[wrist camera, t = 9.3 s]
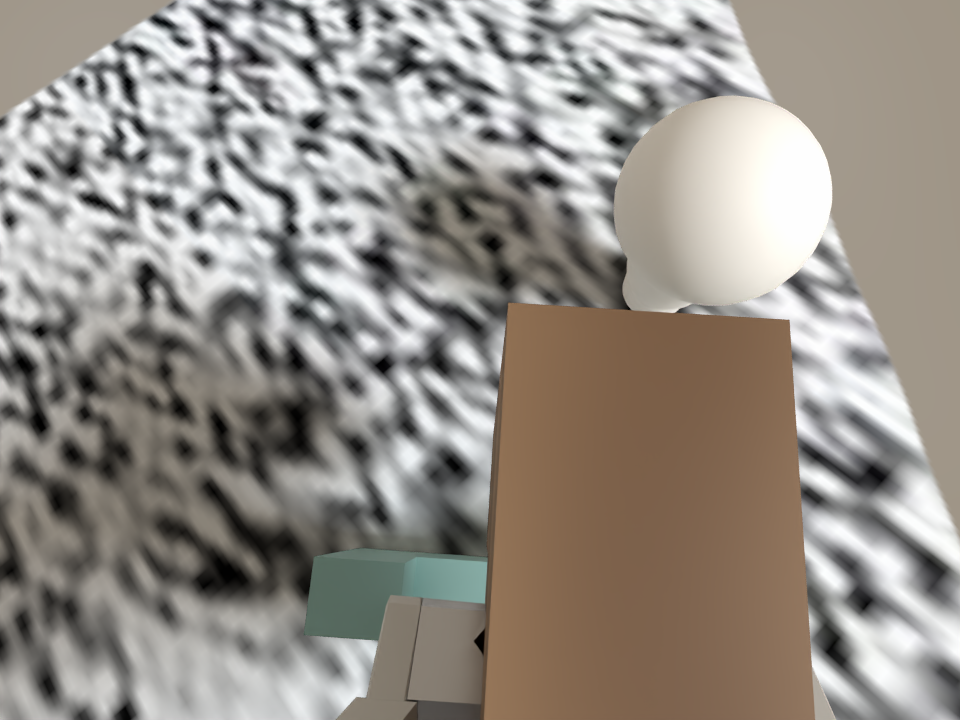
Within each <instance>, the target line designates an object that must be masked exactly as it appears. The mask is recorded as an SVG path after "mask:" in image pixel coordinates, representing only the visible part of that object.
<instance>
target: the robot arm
mask: <svg viewBox="0 0 960 720" xmlns="http://www.w3.org/2000/svg"><path fill="white" fill-rule="evenodd" d="M485 622H486V604H483V603H473V602H462V601H452V600H442V599H432V598H422V597H410V596H397V595H390V598H389V600H388V602H387V604H386V609H385V613H384V618H383V622H382V627H381V632H380V636H379V641H378V646H377V650H376V655H375V660H374V664H373V669H372V674H371V678H370V683H369V687H368V692H367V697H366V698H361V697H356V698H355V699H354V700H353V701H352V702H351V704H350V705H349V706H348V707H347V708H346V709H345V710H344V711H343V712H342V713H341V715H340V716H339V717H338V718H337V719H336V720H480V716H481V702H482V682H483V662H484V656H483V651H484V637H485ZM812 678H813V693H814V709H815V720H836V718H835V716H834V714H833V711H832V709H831V707H830V705H829V703H828V700H827V698H826V696H825V694H824V692H823V689H822V687H821V685H820V683H819V681H818V678H817V676H816V674H815V672H814V670H813V667H812Z"/></svg>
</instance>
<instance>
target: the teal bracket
mask: <svg viewBox="0 0 960 720" xmlns="http://www.w3.org/2000/svg"><path fill="white" fill-rule="evenodd" d="M487 560H488V557H479V556H465V555H451V554H437V553H423V552H409V551H396V550H382V549H368V548H357V549H352V550H347V551H341V552H336V553H331V554H325V555H320V556H314V561H313V568H312V576H311V583H310V591H309V599H308V606H307V614H306V622H305V629H304V635H310V636H323V637H337V638H350V639H364V640H377V641H379V636H380V632H381V627H382V622H383V618H384V613H385V609H386V604H387V602H388V600H389V598H390V595H397V596H410V597H422V598H432V599H442V600H452V601H462V602H473V603H483V604H485V593H486V576H487Z"/></svg>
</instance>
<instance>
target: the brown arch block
mask: <svg viewBox="0 0 960 720" xmlns="http://www.w3.org/2000/svg"><path fill="white" fill-rule="evenodd" d="M487 551H488V560H487V576H486V593H485V604H486V622H485V637H484V651H483V656H484V662H483V682H482V702H481V716H480V720H815V709H814V693H813V678H812V662H811V647H810V631H809V616H808V601H807V585H806V570H805V554H804V539H803V523H802V508H801V492H800V477H799V461H798V446H797V430H796V415H795V399H794V384H793V368H792V353H791V337H790V322H789V320H782V319H765V318H749V317H733V316H717V315H700V314H684V313H668V312H652V311H635V310H619V309H603V308H586V307H570V306H554V305H538V304H521V303H508V311H507V320H506V328H505V337H504V346H503V355H502V363H501V372H500V381H499V390H498V398H497V407H496V416H495V425H494V434H493V449H492V465H491V481H490V497H489V514H488V530H487Z"/></svg>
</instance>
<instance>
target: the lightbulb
mask: <svg viewBox="0 0 960 720" xmlns="http://www.w3.org/2000/svg"><path fill="white" fill-rule="evenodd" d="M831 205H832V183H831V176H830V171H829V167H828V162H827V159H826V157H825V155H824V152H823V150H822V148H821V146H820V144H819V143H818V141H817V140H816V139H815V137H814V136H813V134H812V133H811V131H810V130H809V129H808V128H807V127H806V126H805V125H804V124H803V123H802V122H801V121H800V120H799V119H798V118H797V117H795V116H794V115H793V114H791V113H790V112H788V111H787V110H786V109H784V108H781V107H779V106H777V105H775V104H773V103H770V102H767V101H764V100H760V99H757V98H750V97H742V96H718V97H714V98H710V99H705V100H701V101H697V102H693V103H690V104H688V105H686V106H683V107H681V108H679V109H676V110H675V111H674V112H672V113H671V114H669V115H668V116H666V117H665V118H663V119H662V120H661V121H659V122H658V123H656V124H655V125H654V126H653V127H652V128H651V129H650V130H649V131H648V132H647V133H646V134H645V135H644V136H643V137H642V138H641V139H640V140H639V142H638V143H637V144H636V145H635V146H634V148H633V149H632V151H631V153H630V154H629V156H628V158H627V159H626V161H625V163H624V165H623V168H622V170H621V173H620V176H619V179H618V182H617V185H616V189H615V199H614V220H615V228H616V234H617V237H618V240H619V243H620V245H621V248H622V250H623V252H624V254H625V255H626V257H627V259H628V261H627V273H626V276H625V279H624V282H623V289H622V290H623V296H624V299H625V302H626V303H627V305H628V306H629V308H630V309H631V310H635V311H652V312H668V313H674V312H676V311H677V310H678V309H679V308H683V307H686V306H688V305H690V304H699V305H706V306H720V305H731V304H735V303H739V302H743V301H747V300H750V299H754V298H757V297H759V296H761V295H764V294H766V293H768V292H770V291H772V290H774V289H776V288H777V287H778V286H780V285H781V284H782V283H783V282H785V281H786V280H787V279H789V278H790V277H791V276H792V275H794V274H795V273H796V272H797V271H799V270H800V268H801V267H802V266H803V265H804V263H805V262H806V261H807V260H808V259H809V257H810V256H811V255H812V253H813V252H814V250H815V248H816V247H817V245H818V243H819V241H820V239H821V237H822V235H823V233H824V231H825V228H826V225H827V222H828V218H829V214H830V209H831Z"/></svg>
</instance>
